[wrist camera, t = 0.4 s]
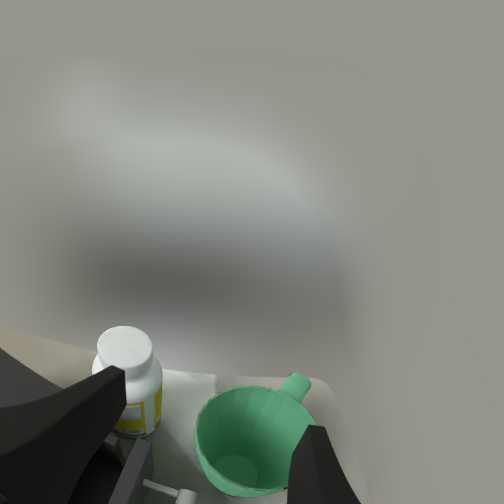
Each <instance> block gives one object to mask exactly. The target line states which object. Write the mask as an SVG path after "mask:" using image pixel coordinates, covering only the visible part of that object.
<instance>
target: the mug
mask: <svg viewBox="0 0 504 504" xmlns="http://www.w3.org/2000/svg"><path fill="white" fill-rule="evenodd" d="M310 387H311V382H310V381H309V379H307V378H306V377H305V376H303V375H300V374H297V373H291V374H290V375H289V376H288V377H287V379H286V380H285V382H284V383H283V385H282V386H281V387H280V389H279V390H278V391H276V390H274V389H271V388H265V387H259V386H237V387H234V388H231V389H227V390H224V391H221V392H220V393H218V394H217V395H215V396H214V397H212V398H211V399H209V400H208V401H207V402H206V404H205V405H204V407H203V408H202V410H201V411H200V412H199V414H198V418H197V422H196V427H195V431H194V440H195V445H196V451H197V455H198V458H199V461H200V464H201V467H202V470H203V472H204V473H205V475H206V476H207V478H208V480H209V481H210V482H211V483H212V484H213V485H214V486H215V487H216V488H217V489H219V490H220V491H222V492H224V493H226V494H229V495H231V496H239V497H247V498H251V497H256V496H261V495H266V494H270V493H275V492H279V491H283V490H285V489H288V475H289V469H290V463H291V457H292V453H293V451H294V449H295V448H296V446H297V444H298V443H299V441H300V439H301V437H302V435H303V434H304V432H305V430H306V428H307V426H308V425H309V424H310V425H316V423H315V421H314V418H313V417H312V416H311V415H310V414H309V413H308V411H307V410H306V409H305V408H304V407H303V406H302V405H301V404H300V403H301V402H302V400H303V398H304V397H305V395H306V393H307V392H308V390H309V389H310ZM316 426H317V425H316Z"/></svg>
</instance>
